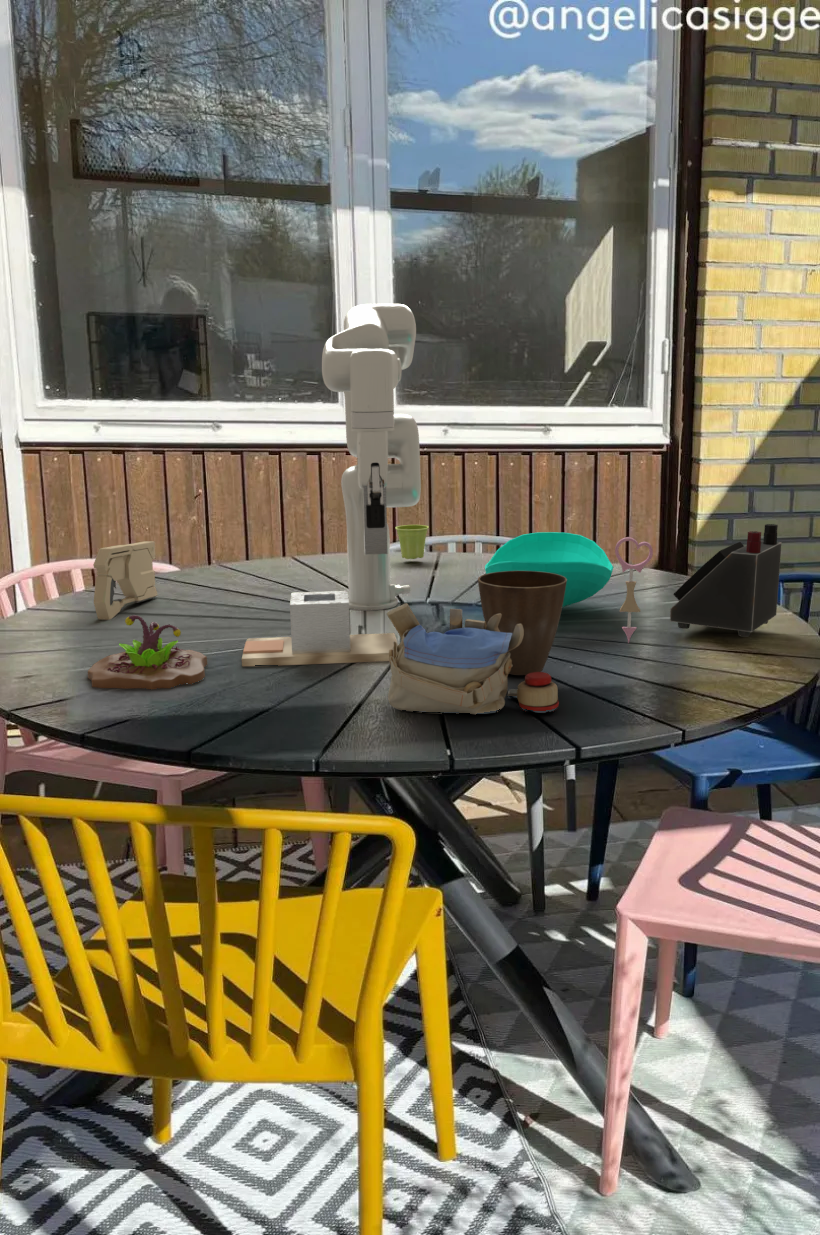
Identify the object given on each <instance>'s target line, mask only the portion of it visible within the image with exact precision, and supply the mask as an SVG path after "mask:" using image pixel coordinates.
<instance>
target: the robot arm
mask: <svg viewBox="0 0 820 1235" xmlns="http://www.w3.org/2000/svg"><path fill="white" fill-rule="evenodd" d="M416 338H417V325H416V318H415V316H414V313H413V310H411V308H409V307H408V306H407V305H406V304H401V303H373V304H372V303H364V304H358V305H356V306H353V307H352V308H351V309H349V310H348V311H347V313H346V314H345V316H344V319H343V331H339V332H338V333H335V334H334V335H332V336H331V337H329V338H328V339H327V340H326V341H325V343H324V347H323V349H322V355H321V356H322V357H321V375H322V380H323V383H324V385H325V386H326V388H327V389H328V390H330V391H331V392H334V393H335V392H336V393H343V396H344V407H345V408H344V410H345V435H346V446H347V450H348V452H349V454H350V456H352V457H355V458H357V459H356V460H357V461H356V462H357V464H355V465H352V466H349V467H348V468H346V469H345V470H344V472H343V473H342V475H341V482H340V485H341V492H342V497H343V503H344V504H343V505H344V510H345V511H344V512H345V522H346V545H347V546H346V547H347V548H346V549H347V550H346V551H347V552H346V553H347V580H348V600H349V610H356V611H364V612H365V611H367V612H368V611H369V612H370V611H380V610H381V611H382V610H388V609H389V610H390V609H392V608H394V607H395V608H396V606H397V605H398V603H399V601H398V598H397V597H398V596H399V595H407V594H411V586H410V585H409V584H406V585H400V584H397V585H396V584H393V583H391V581H392V580H391V549H390V547H391V542H390V541H391V540H390V537H391V536H390V527H389V523H387V552H388V554H367V555H365V552H364V522H363V486H367V498H368V505H366V516H367V528H384V527H385V506H384V505H383V488H385V487H386V505H387V508H409V507H413V506H415V505H417V504H418V503H419V502H420V498H421V493H422V492H421V491H422V490H421V488H422V480H421V478H422V476H421V454H420V453H421V452H420V451H421V449H420V436H419V428H418V423H417V422H416V419H415V418H414V417H413V416H411V415H410V414H407V413H395V404H394V403H395V402H394V400H395V399H394V393H395V392H394V389H395V388H396V387H397V386H398V384H399V382H401V379H402V371H403V370H405V369H408V368H409V367H410V366H411V364H412V362H413V359H414V358H413V357H414V354H415V353H414V350H415V344H416ZM389 459H396V460H398V461H399V463H389ZM371 473H372V474H371ZM383 479H384V483H383ZM369 484H372V488H369ZM383 485H384V487H383ZM370 491H372V492H371V493H370Z"/></svg>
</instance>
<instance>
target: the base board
mask: <svg viewBox="0 0 820 1235" xmlns="http://www.w3.org/2000/svg"><path fill="white" fill-rule="evenodd" d="M266 640H284V645H283V652H267V653H243V652H242V657H241V667H256V666H255V665H278V666H296V665H297V666H298V665H300V666H301V665H303V666H304V665H320V664H325V665H326V664H347V663H348V664H350V663H373V662H375V663H377V662H390V661H389V650H390V649H392V650H393V645H394V644H393V642H394V641H395V642H396V643H397V647H398V645H399V644H398V640H397V637H396V634H395V632H389V633H387V632H385V633H383V632H382V633H362V634H361V633H359V634H358V633H357V634H350V652H331V653H306V654H292V640H291V636H284V637H283V636H277V637H258V638H257V637H254V638H247V639H246V641H266Z"/></svg>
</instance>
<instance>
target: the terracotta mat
mask: <svg viewBox="0 0 820 1235" xmlns="http://www.w3.org/2000/svg"><path fill="white" fill-rule="evenodd" d="M283 645H284V640H266V641H247V640H246V641H245V642H244V648H243V650H242V651H243V652H242V654H243V653H267V652H283Z"/></svg>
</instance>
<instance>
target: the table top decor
mask: <svg viewBox="0 0 820 1235" xmlns="http://www.w3.org/2000/svg"><path fill="white" fill-rule="evenodd" d="M607 555H608V554H606V551H605V550H604V549H603V548H601V546H599V545H598V543H596V542H595V541H594V540H592V539H590V538H588V537H586V536H584V535H581V534H576V533H571V532H561V531H559V532H554V531H548V532H547V531H546V532H545V531H543V532H542V531H541V532H539V531H538V532H536V531H535V532H532V533H531V532H530V533H525V534H521V535H518V536H517V537H513V538H512V539H509V540H508V541H506V542H505V543H504V544H503V545H501V546H500V547H499V548H498V549H497V550H496V551H495V552H494V554H493V555H492V556H491V558H490V559H489V561H488V562H487V563H486V564H485V565H484V571H485V574H488V573H493V572H502V571H539V572H548V573H554V574H558V575H561V576H564V577H565V578H566V579H567V582H566V589H565V595H564V600H563V606H562V608H564V607H567V606H571V605H573V604H577V603H581V602H582V601H584V600H587V599H590V598H591V597H594V595H595V594H597V593H598V592H600V591H601V590H602V589H604V588H605V586H606V585H607V584H608V582H609V581H610V580H611V577H612V574H613V570H614V566H613V564H612V562H611V560H610V558H609V557H608V556H607Z"/></svg>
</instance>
